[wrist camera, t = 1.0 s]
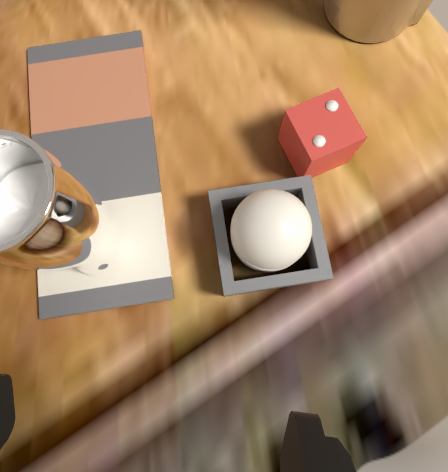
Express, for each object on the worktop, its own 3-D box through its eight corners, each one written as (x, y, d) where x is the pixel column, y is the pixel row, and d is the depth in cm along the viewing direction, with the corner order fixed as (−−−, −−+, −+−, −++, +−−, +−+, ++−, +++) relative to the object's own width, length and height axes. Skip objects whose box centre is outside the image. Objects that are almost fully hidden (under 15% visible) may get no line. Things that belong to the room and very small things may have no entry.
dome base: (304, 186, 33) (310, 174, 30) (323, 280, 31) (333, 278, 28) (210, 201, 33) (207, 190, 30) (224, 296, 31) (223, 295, 28)
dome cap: (295, 197, 31) (311, 170, 25) (309, 267, 30) (329, 256, 24) (225, 208, 31) (223, 183, 25) (236, 278, 30) (237, 271, 24)
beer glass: (140, 206, 32) (64, 123, 18) (137, 280, 31) (51, 258, 16) (66, 207, 33) (-70, 126, 18) (60, 281, 31) (-93, 259, 17)
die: (323, 119, 34) (338, 86, 29) (347, 162, 33) (367, 136, 28) (277, 138, 34) (285, 109, 29) (300, 182, 33) (312, 160, 28)
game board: (141, 33, 37) (140, 30, 36) (174, 298, 31) (173, 298, 31) (29, 50, 37) (27, 47, 36) (41, 319, 31) (39, 319, 31)
